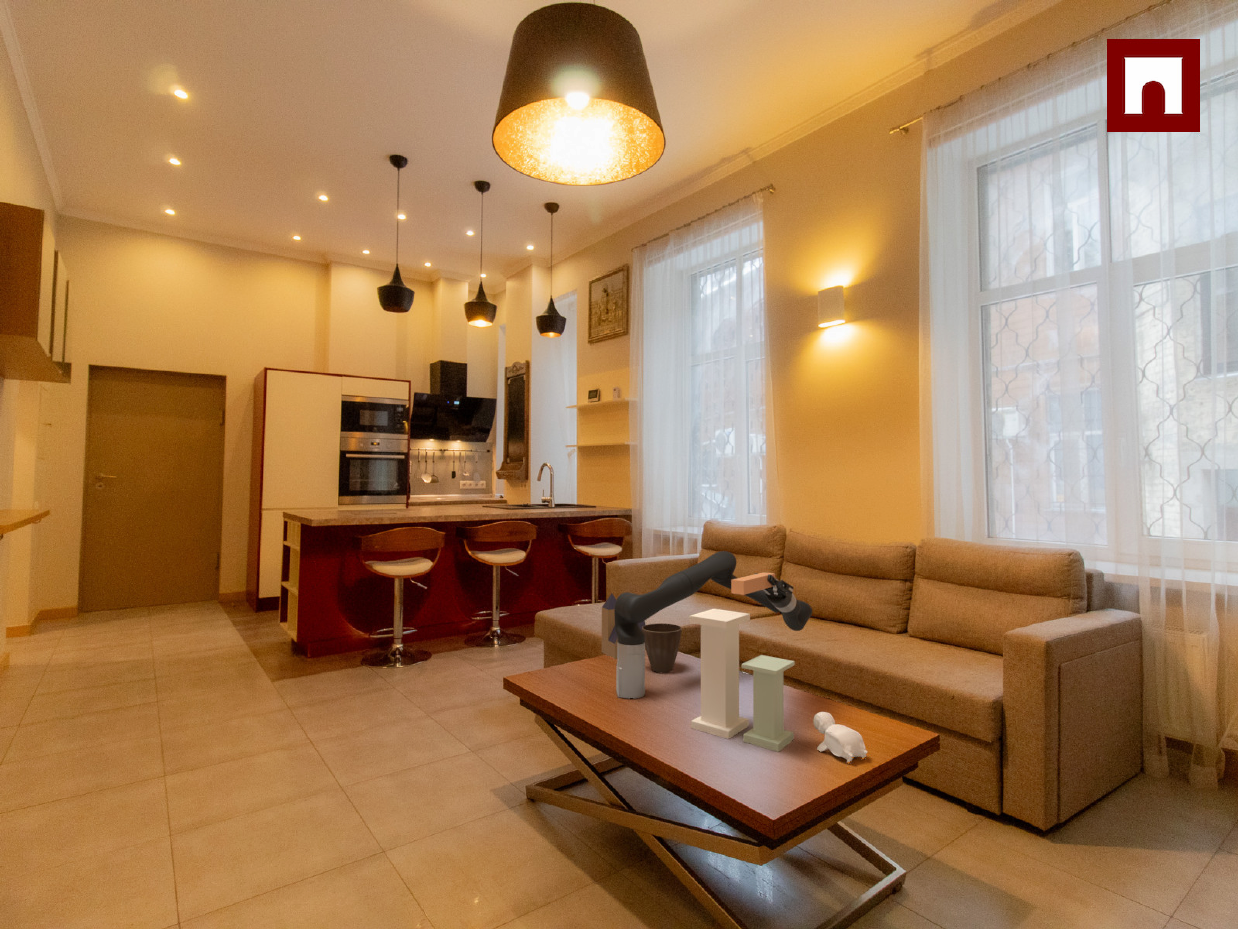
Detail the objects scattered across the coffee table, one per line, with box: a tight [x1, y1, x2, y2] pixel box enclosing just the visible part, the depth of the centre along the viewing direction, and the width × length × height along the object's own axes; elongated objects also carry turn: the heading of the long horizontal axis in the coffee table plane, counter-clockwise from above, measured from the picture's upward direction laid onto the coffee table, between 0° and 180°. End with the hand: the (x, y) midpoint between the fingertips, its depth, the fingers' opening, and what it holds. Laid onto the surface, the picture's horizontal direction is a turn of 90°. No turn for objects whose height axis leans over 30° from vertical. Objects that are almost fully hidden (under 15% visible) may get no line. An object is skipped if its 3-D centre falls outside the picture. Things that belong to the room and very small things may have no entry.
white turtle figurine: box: [812, 711, 868, 763], centre depth 159 cm, size 9×8×15 cm
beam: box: [730, 572, 776, 596], centre depth 188 cm, size 22×4×4 cm, turn 142°
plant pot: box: [642, 623, 683, 674], centre depth 230 cm, size 15×15×16 cm
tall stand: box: [688, 608, 751, 740], centre depth 176 cm, size 14×12×32 cm
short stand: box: [740, 654, 796, 753], centre depth 166 cm, size 12×10×21 cm
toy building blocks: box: [601, 592, 646, 660], centre depth 254 cm, size 12×19×25 cm
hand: (762, 576), depth 193 cm, fingers closed on beam, 4 cm apart
